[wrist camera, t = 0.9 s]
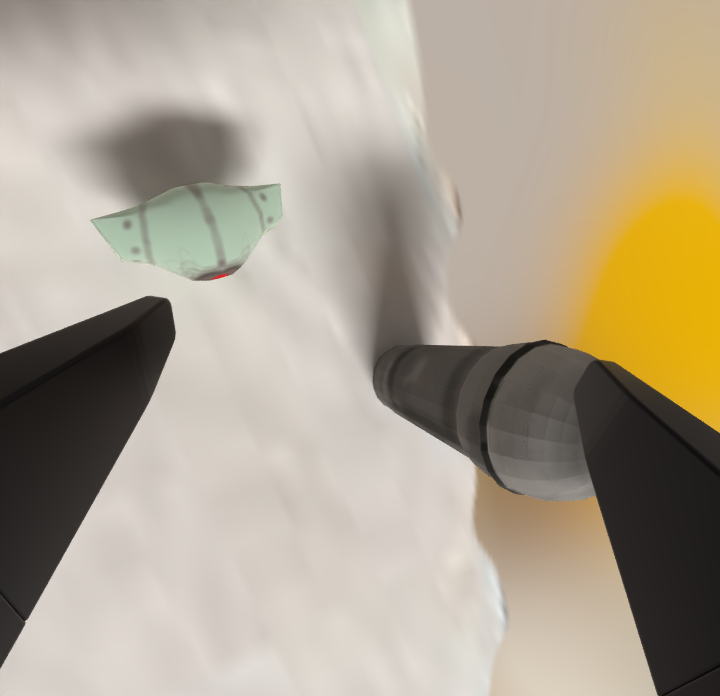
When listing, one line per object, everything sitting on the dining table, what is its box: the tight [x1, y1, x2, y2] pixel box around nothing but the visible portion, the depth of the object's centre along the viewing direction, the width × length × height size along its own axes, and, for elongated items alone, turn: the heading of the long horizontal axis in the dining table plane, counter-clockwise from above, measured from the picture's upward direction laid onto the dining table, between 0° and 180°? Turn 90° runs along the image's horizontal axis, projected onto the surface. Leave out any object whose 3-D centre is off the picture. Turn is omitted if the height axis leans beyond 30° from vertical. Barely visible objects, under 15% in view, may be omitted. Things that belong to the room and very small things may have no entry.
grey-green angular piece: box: [90, 182, 282, 281], centre depth 20 cm, size 8×4×7 cm, turn 107°
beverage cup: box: [373, 340, 599, 501], centre depth 21 cm, size 7×7×20 cm
